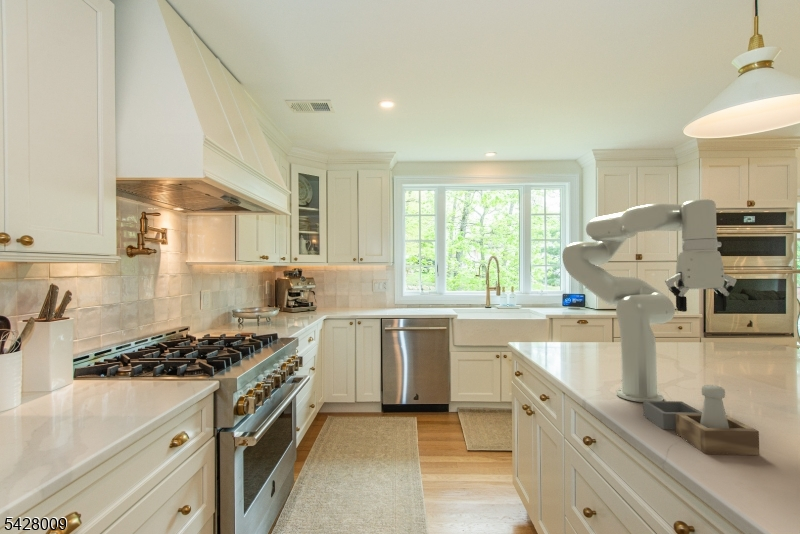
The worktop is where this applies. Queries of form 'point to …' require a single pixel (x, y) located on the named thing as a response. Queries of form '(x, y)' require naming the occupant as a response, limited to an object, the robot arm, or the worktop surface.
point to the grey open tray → (666, 412)
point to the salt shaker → (713, 407)
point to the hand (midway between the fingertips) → (701, 310)
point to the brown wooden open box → (718, 436)
